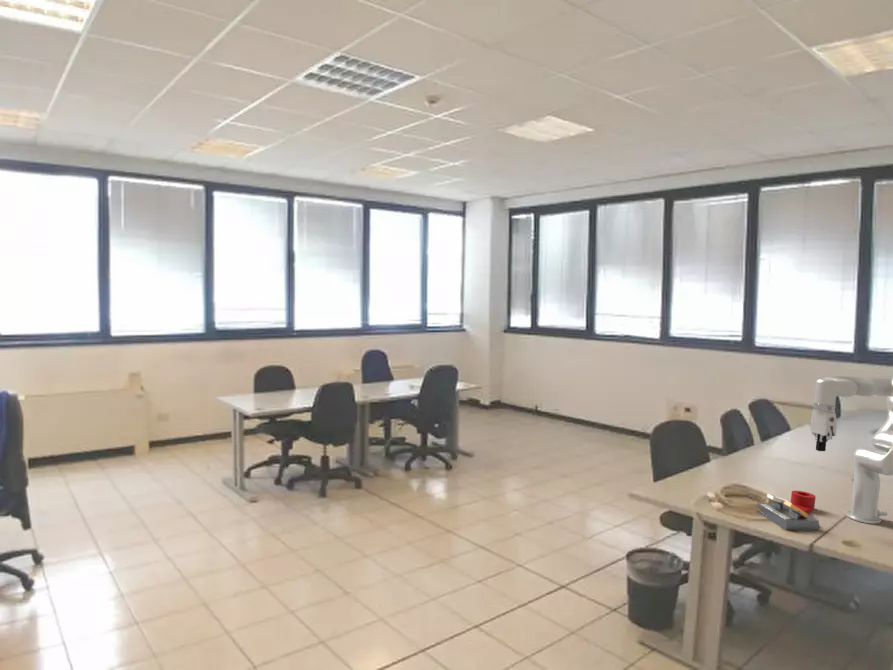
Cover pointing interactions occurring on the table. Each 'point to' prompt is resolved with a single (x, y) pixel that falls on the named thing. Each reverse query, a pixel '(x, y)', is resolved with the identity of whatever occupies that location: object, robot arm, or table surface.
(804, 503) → the lever
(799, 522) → the breaker strip
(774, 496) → the block
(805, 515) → the breaker lever
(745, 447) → the table surface
